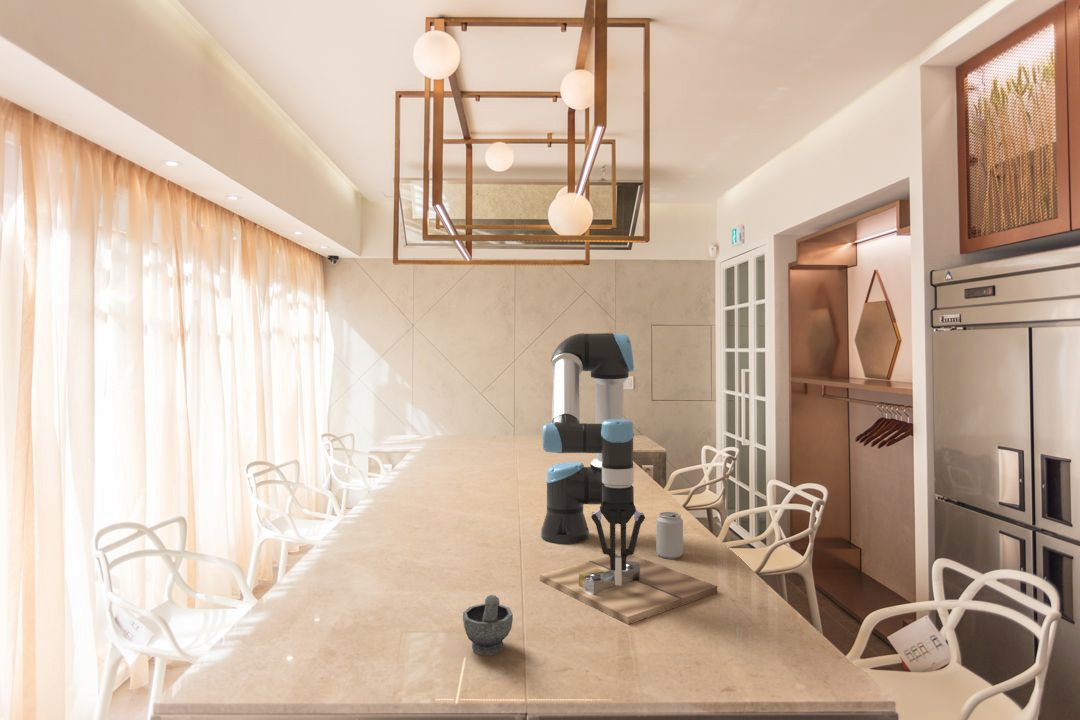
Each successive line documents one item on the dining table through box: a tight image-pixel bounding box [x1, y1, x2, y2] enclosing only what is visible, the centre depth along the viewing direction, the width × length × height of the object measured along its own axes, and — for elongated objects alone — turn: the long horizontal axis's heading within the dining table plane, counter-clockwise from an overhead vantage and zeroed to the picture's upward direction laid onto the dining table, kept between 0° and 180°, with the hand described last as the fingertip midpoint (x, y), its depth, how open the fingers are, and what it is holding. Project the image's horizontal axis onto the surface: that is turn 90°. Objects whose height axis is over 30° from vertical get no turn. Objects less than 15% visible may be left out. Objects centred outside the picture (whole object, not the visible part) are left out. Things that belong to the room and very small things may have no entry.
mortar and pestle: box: [462, 594, 514, 656], centre depth 121 cm, size 11×9×12 cm
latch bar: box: [585, 561, 640, 594], centre depth 151 cm, size 17×4×4 cm, turn 130°
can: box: [655, 511, 684, 560], centre depth 178 cm, size 8×8×12 cm
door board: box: [539, 552, 718, 625], centre depth 154 cm, size 32×30×5 cm
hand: (618, 583), depth 148 cm, fingers closed
